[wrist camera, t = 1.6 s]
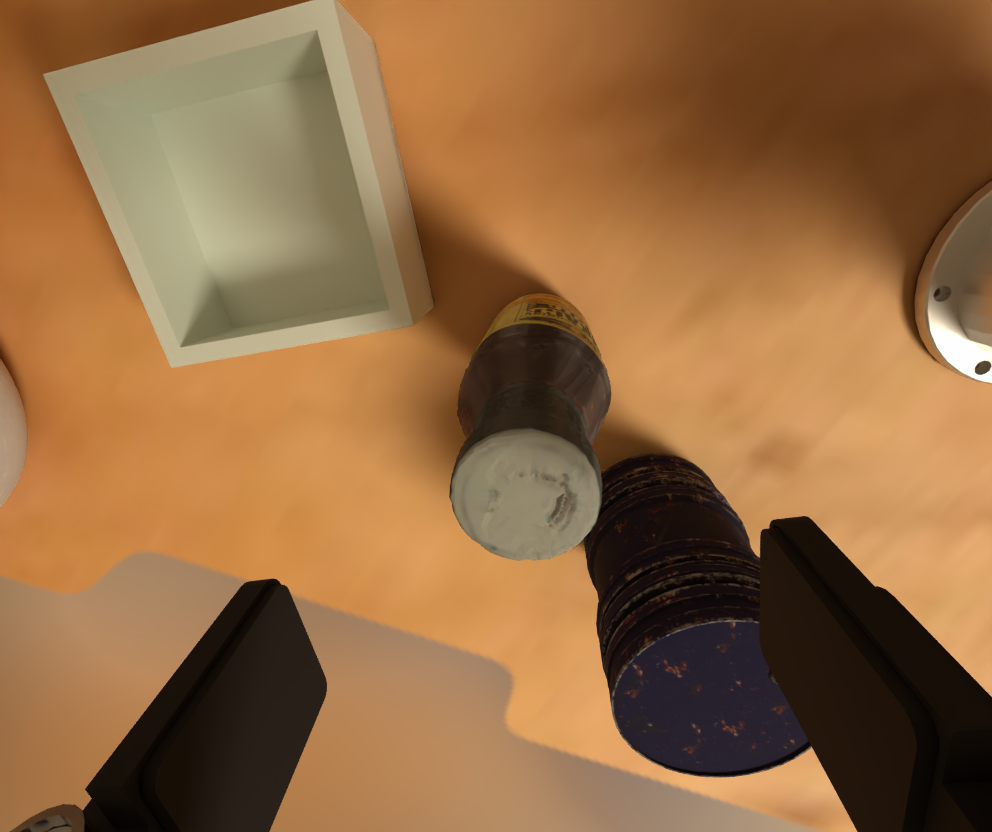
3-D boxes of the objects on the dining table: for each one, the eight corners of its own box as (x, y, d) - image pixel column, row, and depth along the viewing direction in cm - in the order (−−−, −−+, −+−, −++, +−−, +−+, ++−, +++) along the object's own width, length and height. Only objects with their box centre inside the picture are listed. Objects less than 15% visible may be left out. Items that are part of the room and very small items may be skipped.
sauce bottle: (609, 341, 31) (718, 524, 13) (535, 404, 33) (537, 643, 15) (538, 262, 29) (545, 340, 11) (465, 333, 31) (368, 500, 13)
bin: (373, 40, 26) (332, -5, 21) (434, 306, 31) (413, 325, 26) (137, 101, 28) (42, 74, 22) (230, 342, 33) (171, 367, 27)
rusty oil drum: (632, 591, 38) (688, 805, 24) (552, 505, 36) (563, 688, 22) (749, 523, 35) (888, 722, 21) (669, 424, 33) (768, 577, 19)
